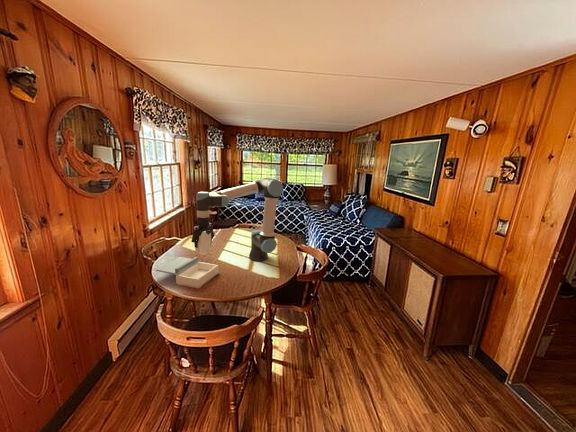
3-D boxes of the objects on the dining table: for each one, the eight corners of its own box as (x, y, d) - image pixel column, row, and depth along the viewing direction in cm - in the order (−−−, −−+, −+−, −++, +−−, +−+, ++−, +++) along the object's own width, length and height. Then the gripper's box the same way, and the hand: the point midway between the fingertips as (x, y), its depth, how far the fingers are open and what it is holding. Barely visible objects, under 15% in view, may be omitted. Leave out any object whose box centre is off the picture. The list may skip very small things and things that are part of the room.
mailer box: (218, 273, 165) (218, 265, 163) (198, 288, 144) (198, 279, 143) (198, 269, 169) (198, 261, 168) (176, 284, 148) (175, 275, 147)
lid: (199, 261, 167) (199, 256, 166) (176, 275, 147) (176, 269, 146) (179, 258, 171) (179, 253, 171) (155, 270, 151) (155, 265, 150)
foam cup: (202, 256, 150) (201, 237, 147) (192, 253, 155) (192, 233, 152) (214, 252, 157) (214, 233, 155) (205, 249, 162) (205, 231, 160)
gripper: (211, 213, 162) (212, 244, 167) (184, 218, 143) (185, 253, 148) (220, 214, 159) (220, 246, 163) (192, 220, 140) (193, 256, 144)
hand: (203, 249), depth 156 cm, fingers closed on foam cup, 9 cm apart
